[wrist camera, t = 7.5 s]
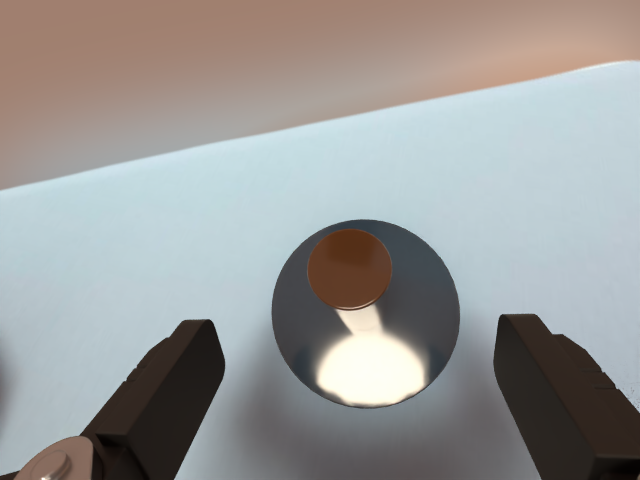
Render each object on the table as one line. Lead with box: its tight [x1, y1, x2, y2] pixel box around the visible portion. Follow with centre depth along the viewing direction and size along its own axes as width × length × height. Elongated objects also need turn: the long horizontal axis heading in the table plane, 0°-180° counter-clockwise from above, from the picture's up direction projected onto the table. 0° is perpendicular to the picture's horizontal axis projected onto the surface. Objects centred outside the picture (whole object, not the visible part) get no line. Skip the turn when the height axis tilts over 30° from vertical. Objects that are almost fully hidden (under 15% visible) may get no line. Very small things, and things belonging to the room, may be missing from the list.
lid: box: [272, 219, 460, 408], centre depth 13 cm, size 9×9×8 cm
